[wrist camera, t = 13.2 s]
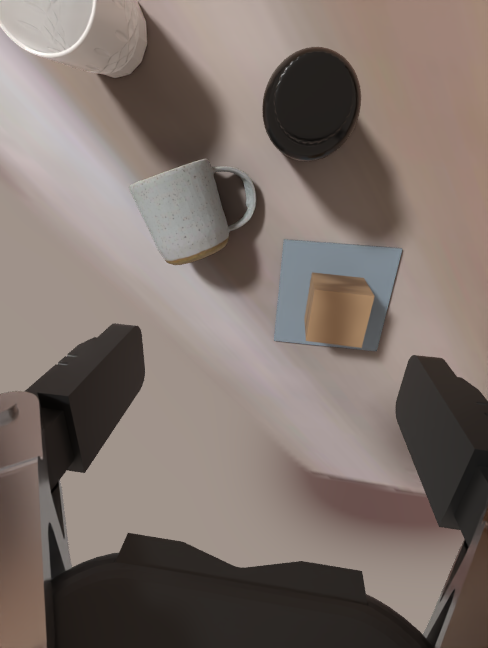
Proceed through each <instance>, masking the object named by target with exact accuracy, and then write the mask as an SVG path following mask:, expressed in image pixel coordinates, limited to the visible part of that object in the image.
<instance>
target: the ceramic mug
mask: <svg viewBox="0 0 488 648" xmlns="http://www.w3.org/2000/svg"><path fill="white" fill-rule="evenodd" d="M214 172H231V173H234V174H237V175H238V176H239V177H241V179H242V181H243V182H244V187H245V192H246V206H247V207H248V209H247V212H246V213H245V215H244V216H243V218H241V219H240V220H239V221H238V222H236V223H234V224H232V225H230V226H228V225H227V221H226V217H225V214H224V211H223V208H222V205H221V201H220V197H219V193H218V190H217V186H216V182H215V179H214V175H213V174H214ZM129 188H130V192H131V194H132V196H133V198H134V200H135V202H136V204H137V206H138V208H139V210H140V212H141V215H142V217H143V219H144V221H145V223H146V225H147V227H148V229H149V231H150V233H151V235H152V237H153V240H154V242H155V244H156V246H157V248H158V250H159V252H160V254H161V255H162V257H163V258H164V259H165V261H166V262H167V263H169V264H173V265H182V264H186V263H191V262H194V261H197V260H200V259H202V258H205V257H207V256H209V255H212V254H214V253H216V252H218V251H219V250H221V249H222V248H224V247H225V246H226V244H227V242H228V240H229V232H230V231H232V230H235V229H238V228H240V227H241V226H243V225H244V224H245V223H246V222H248V221H249V220H250V218H251V217H252V215H253V213H254V210H255V207H256V192H255V187H254V185H253V182H252V180H251V178H250V177H249V176H248V175H247V174H246V173H245V172H243V171H241V170H239V169H237V168H234V167H229V166H219V167H211V165H210V162H209V160H208V159H202V160H198V161H195V162H192V163H189V164H186V165H183V166H180V167H177V168H174V169H172V170H169V171H166V172H163V173H161V174H158V175H155V176H153V177H150V178H147V179H145V180H142V181H139V182H136V183H134V184H132V185H130V187H129Z"/></svg>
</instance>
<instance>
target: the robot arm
mask: <svg viewBox="0 0 488 648" xmlns="http://www.w3.org/2000/svg"><path fill="white" fill-rule="evenodd" d="M144 376H145V366H144V355H143V344H142V334H141V330H140V328H139V327H138V326H132V325H122V324H112V325H111V326H110V327H108V329H106V330H105V331H104V332H103V333H102V334H101V335H100V336H99V337H97V338H96V337H95V338H92V339H90V340H88V341H86V342H84V343H81V344H79V345H78V346H77V347H75V348H74V349H73V350H72V351H71V352H70V353H69V354H68V355H67V357H66V356H65V357H64V358H63V359H62V360H61V361H59V362H58V365H55V366H53V367H52V368H51V369H50V370H49V371H48V372H46V373H45V374H44V375H43V376H42V377H41V378H40V379H38V380H37V381H36V382H35V383H34V384H33V385H31V386H30V387H29V388H28V389H27V390H26V391H24V392H23V391H13V392H7V393H2V394H0V648H488V401H487V400H486V399H485V397H484V396H483V395H482V394H481V392H480V391H479V390H478V389H477V388H475V387H474V386H472V385H471V384H470V383H468V382H467V381H465V380H464V379H463V378H460V377H457V376H456V375H455V374H454V372H453V371H452V370H451V368H450V367H449V366H448V364H447V363H446V362H445V360H444V359H442V358H436V357H426V356H416V355H413V356H411V357H410V359H409V361H408V364H407V367H406V370H405V374H404V377H403V380H402V384H401V387H400V390H399V394H398V397H397V401H396V418H397V422H398V424H399V427H400V429H401V432H402V435H403V437H404V440H405V442H406V445H407V447H408V450H409V452H410V455H411V457H412V460H413V462H414V465H415V467H416V470H417V472H418V475H419V477H420V480H421V482H422V485H423V487H424V490H425V493H426V495H427V498H428V500H429V503H430V505H431V508H432V510H433V513H434V515H435V518H436V520H437V523H438V525H439V527H444V528H451V529H457V530H461V532H462V534H463V536H464V541H463V543H462V545H461V547H460V549H459V551H458V554H457V556H456V558H455V561H454V563H453V566H452V568H451V571H450V573H449V575H448V578H447V580H446V583H445V585H444V588H443V590H442V593H441V595H440V598H439V600H438V602H437V605H436V607H435V609H434V612H433V614H432V616H431V619H430V621H429V623H428V625H427V627H426V629H425V631H424V633H423V634H422V633H421V632H420V631H418V630H417V629H416V628H415V627H414V626H413V625H412V624H411V623H409V622H408V621H407V620H406V619H405V618H404V617H402V616H401V615H400V614H398V613H397V612H395V611H394V610H393V609H391V608H390V607H388V606H387V605H385V604H383V603H382V602H380V601H378V600H377V599H375V598H373V597H371V596H369V595H367V594H366V593H365V587H364V581H363V575H362V571H358V570H352V569H346V568H340V567H333V566H328V565H322V564H315V563H309V562H303V561H299V562H291V563H282V564H274V565H265V566H257V567H248V568H239V567H235V566H233V565H230V564H228V563H226V562H224V561H222V560H220V559H218V558H216V557H214V556H212V555H209V554H207V553H205V552H203V551H201V550H199V549H197V548H195V547H192V546H190V545H188V544H186V543H184V542H181V541H175V540H168V539H162V538H156V537H150V536H144V535H138V534H131V533H128V534H127V537H126V539H125V541H124V543H123V545H122V548H121V550H120V552H119V553H112V554H108V555H105V556H100V557H96V558H94V559H91V560H88V561H86V562H83V563H81V564H78V565H76V566H74V567H72V564H71V559H70V554H69V546H68V537H67V529H66V520H65V512H64V504H63V495H62V487H61V483H60V478H61V477H62V476H63V474H64V473H65V472H66V470H69V471H75V472H83V473H85V472H86V470H87V469H88V467H89V466H90V464H91V463H92V461H93V460H94V458H95V457H96V455H97V454H98V452H99V450H100V449H101V448H102V446H103V445H104V443H105V442H106V440H107V439H108V437H109V436H110V434H111V433H112V431H113V430H114V428H115V427H116V425H117V424H118V422H119V421H120V419H121V417H122V416H123V415H124V413H125V412H126V410H127V409H128V407H129V406H130V404H131V403H132V401H133V400H134V398H135V396H136V395H137V394H138V392H139V391H140V389H141V387H142V384H143V381H144Z"/></svg>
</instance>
